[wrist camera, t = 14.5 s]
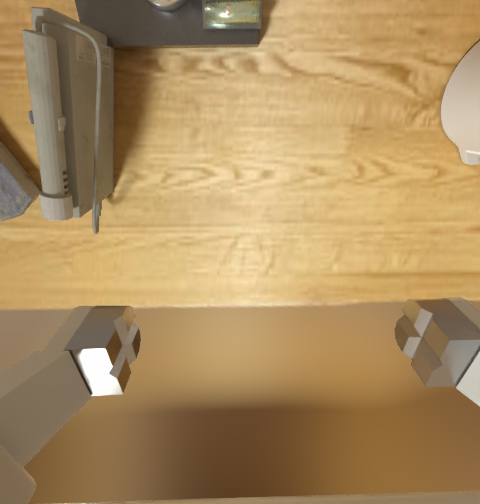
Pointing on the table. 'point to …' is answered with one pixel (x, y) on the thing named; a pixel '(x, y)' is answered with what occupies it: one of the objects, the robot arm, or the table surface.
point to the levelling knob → (167, 4)
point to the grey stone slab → (14, 186)
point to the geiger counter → (71, 113)
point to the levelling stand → (174, 23)
